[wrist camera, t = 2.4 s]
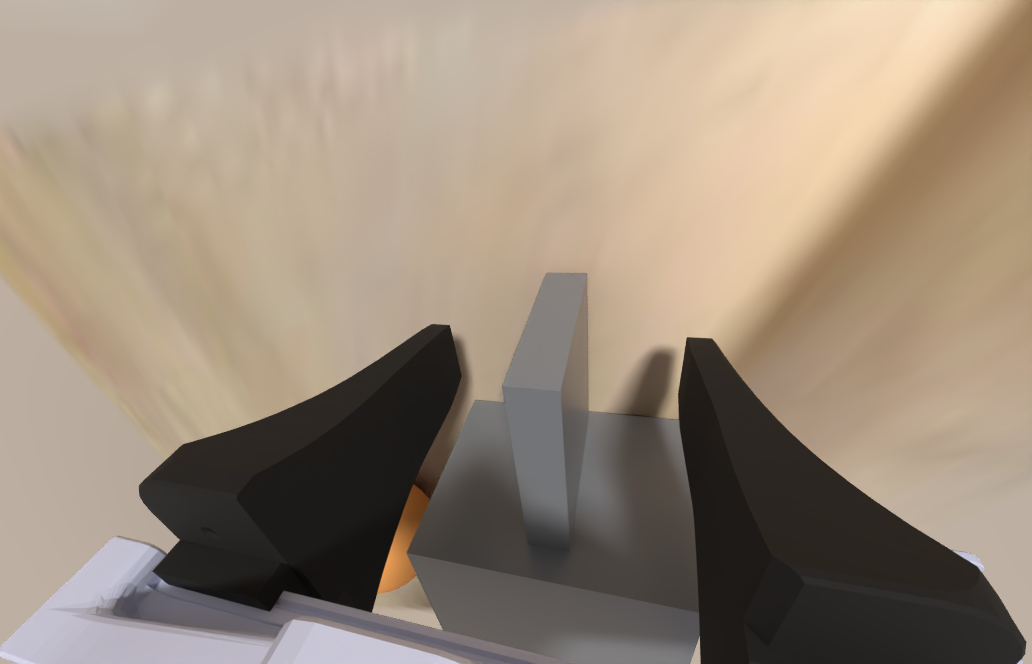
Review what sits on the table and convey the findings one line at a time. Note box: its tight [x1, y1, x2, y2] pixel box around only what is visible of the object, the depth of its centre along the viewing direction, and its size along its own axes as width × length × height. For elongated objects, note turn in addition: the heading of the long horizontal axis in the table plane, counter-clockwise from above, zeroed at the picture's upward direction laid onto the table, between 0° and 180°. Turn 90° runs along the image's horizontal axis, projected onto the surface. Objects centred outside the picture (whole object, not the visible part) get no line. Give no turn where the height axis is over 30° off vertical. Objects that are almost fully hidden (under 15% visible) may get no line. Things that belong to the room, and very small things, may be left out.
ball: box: [377, 484, 429, 593], centre depth 20 cm, size 5×5×5 cm
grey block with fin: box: [406, 273, 700, 664], centre depth 14 cm, size 14×8×6 cm, turn 5°
